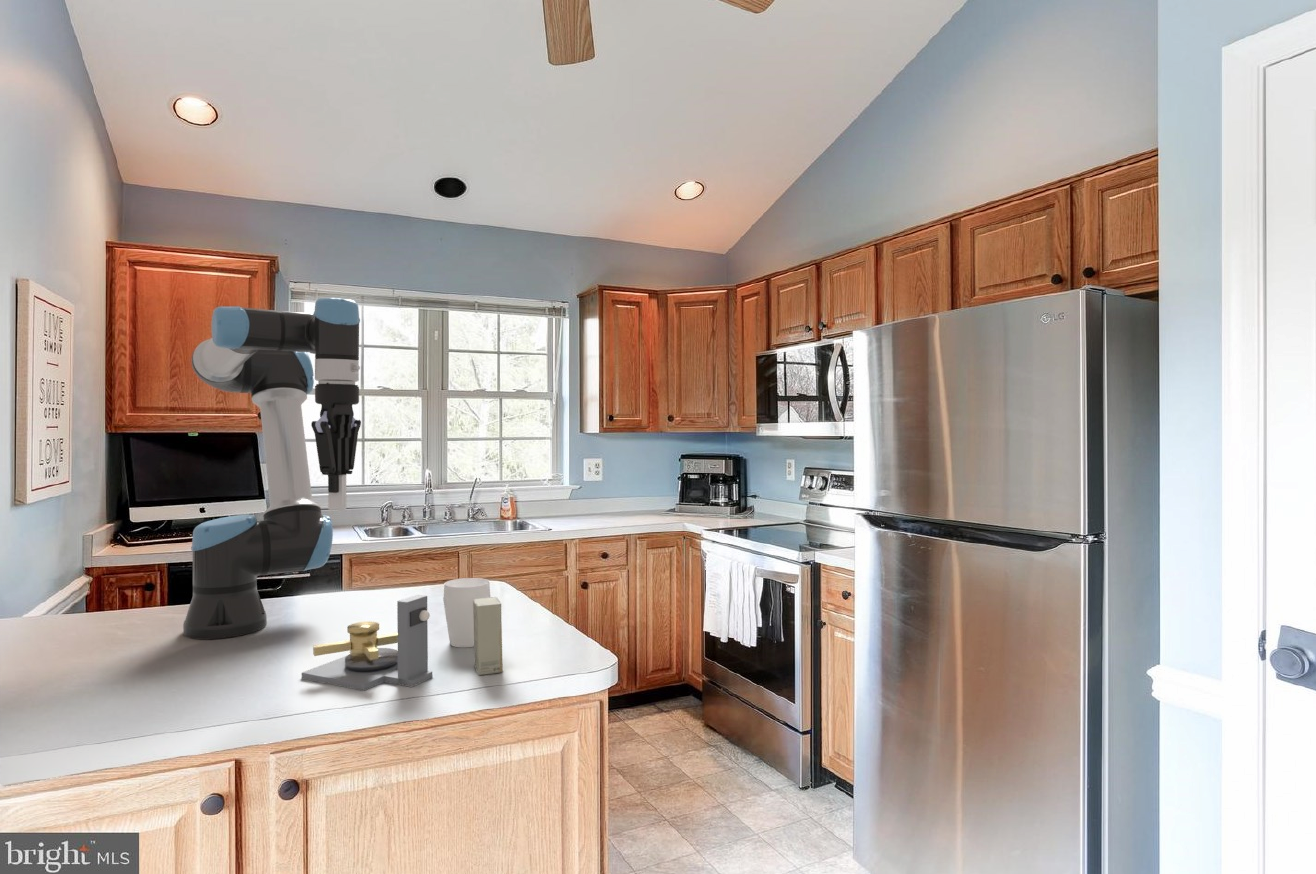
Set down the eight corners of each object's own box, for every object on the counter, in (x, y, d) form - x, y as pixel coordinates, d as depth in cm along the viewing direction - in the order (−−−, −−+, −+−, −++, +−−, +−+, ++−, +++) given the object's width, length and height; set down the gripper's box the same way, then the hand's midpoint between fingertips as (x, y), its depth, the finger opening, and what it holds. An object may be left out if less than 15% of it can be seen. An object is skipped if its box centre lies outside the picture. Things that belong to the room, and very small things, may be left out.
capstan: (322, 686, 121) (322, 644, 121) (306, 659, 134) (306, 621, 134) (429, 667, 130) (428, 628, 130) (404, 644, 144) (404, 608, 144)
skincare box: (503, 673, 132) (502, 604, 131) (477, 676, 130) (476, 606, 130) (497, 662, 137) (497, 596, 137) (472, 664, 136) (472, 597, 136)
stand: (301, 678, 129) (300, 597, 128) (363, 654, 141) (363, 580, 141) (394, 696, 120) (394, 609, 120) (451, 669, 133) (451, 591, 133)
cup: (478, 651, 144) (478, 588, 143) (435, 648, 145) (434, 586, 145) (497, 637, 152) (497, 578, 152) (456, 635, 154) (456, 576, 154)
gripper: (336, 382, 133) (336, 515, 134) (374, 384, 146) (373, 505, 147) (297, 381, 134) (297, 513, 135) (337, 383, 147) (338, 504, 148)
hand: (337, 509), depth 141 cm, fingers closed
